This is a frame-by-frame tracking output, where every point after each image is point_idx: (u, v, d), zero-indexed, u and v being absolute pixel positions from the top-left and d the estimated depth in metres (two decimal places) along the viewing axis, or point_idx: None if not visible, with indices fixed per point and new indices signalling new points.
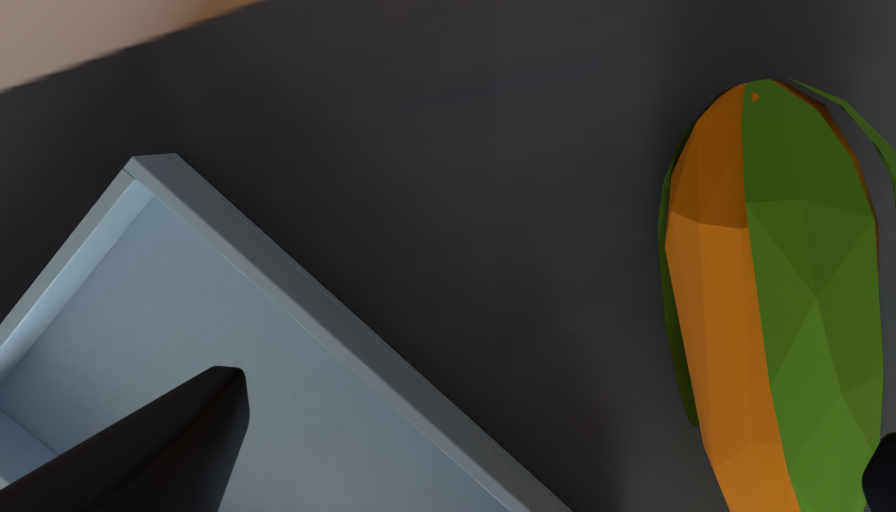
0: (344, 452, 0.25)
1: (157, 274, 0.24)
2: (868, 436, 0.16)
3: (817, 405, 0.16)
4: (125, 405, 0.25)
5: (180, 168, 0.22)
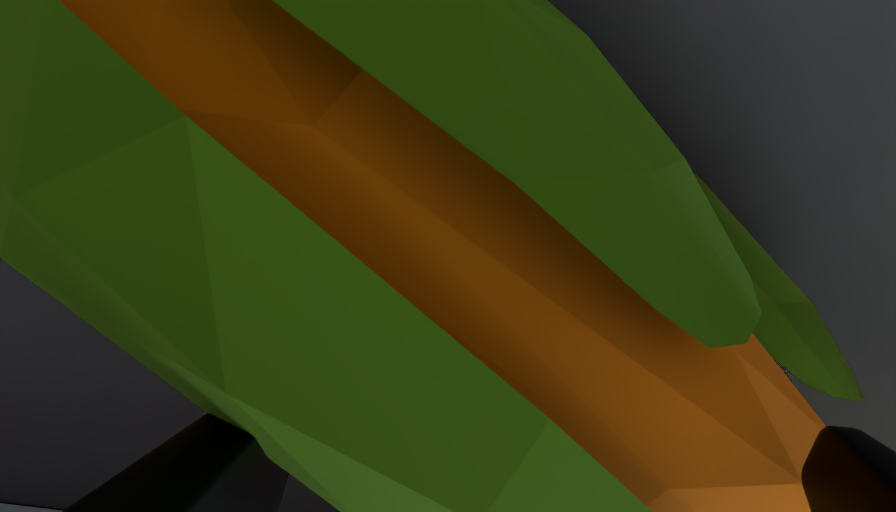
0: None
1: None
2: None
3: None
4: None
5: None
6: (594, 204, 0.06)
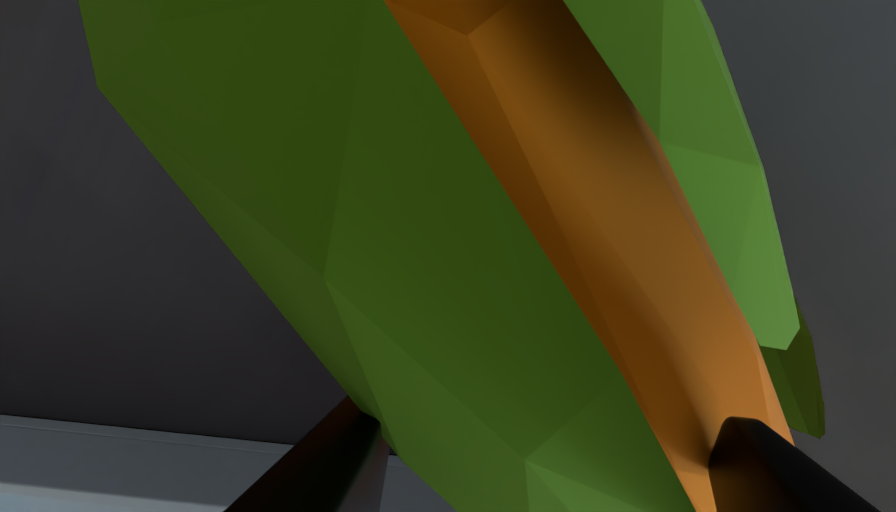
0: None
1: (14, 501, 0.24)
2: (654, 506, 0.07)
3: (499, 482, 0.07)
4: None
5: None
6: (711, 180, 0.06)
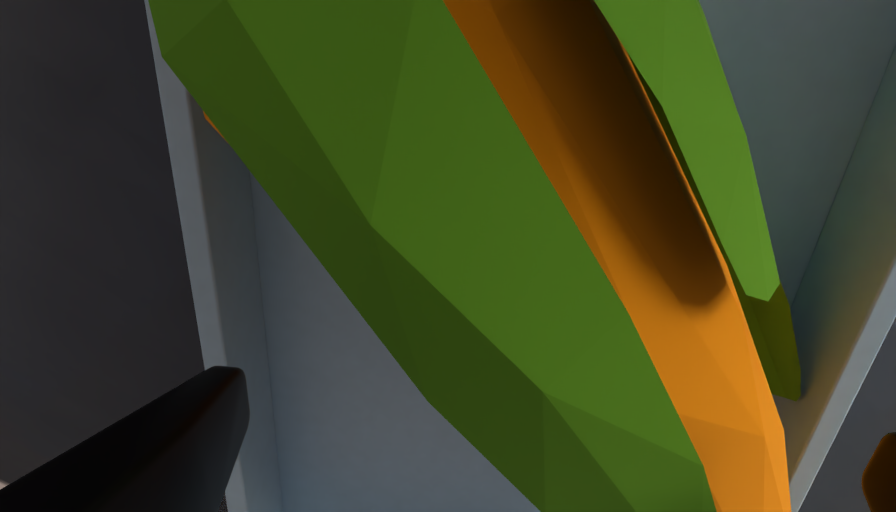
0: None
1: (392, 500, 0.19)
2: (654, 435, 0.08)
3: (517, 416, 0.07)
4: None
5: None
6: (704, 143, 0.07)
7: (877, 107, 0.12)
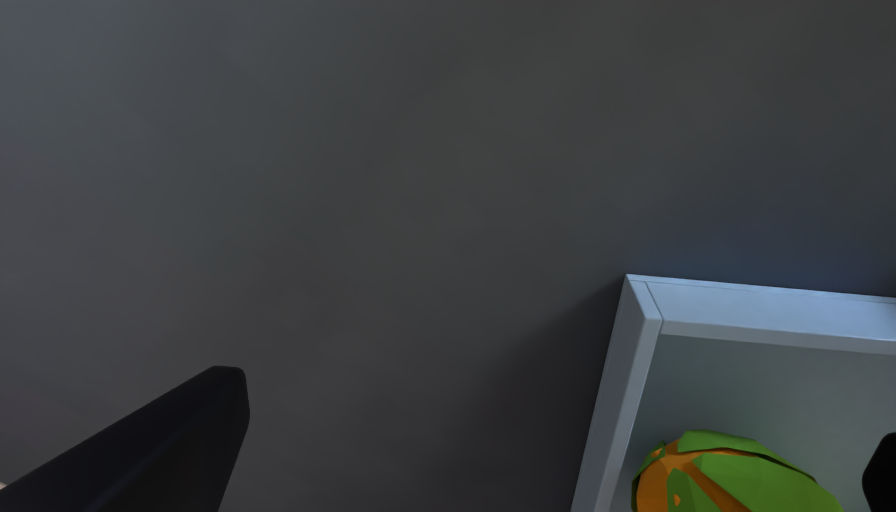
0: None
1: None
2: None
3: None
4: None
5: None
6: None
7: None
